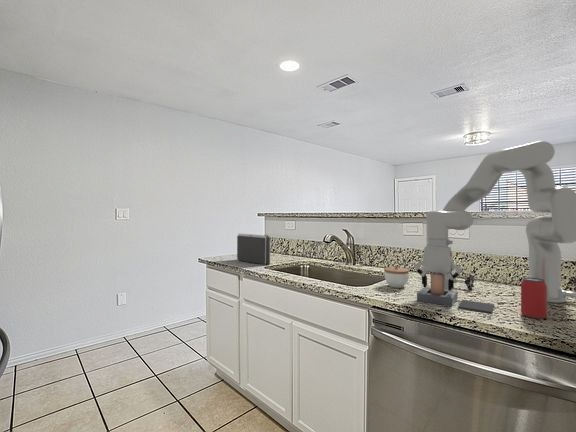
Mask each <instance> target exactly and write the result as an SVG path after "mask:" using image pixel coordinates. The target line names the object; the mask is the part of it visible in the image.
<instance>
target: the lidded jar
mask: <svg viewBox="0 0 576 432" xmlns="http://www.w3.org/2000/svg"><path fill="white" fill-rule="evenodd" d="M383 271H384V275H383V276H384V279H385V282H386V283H387V285H389V287H391V288H399V289H401V288H404V286H406V284H407V283H408V281H409V273H410V269H408V268H406V267H399V266H398V265H395V266H391V267H389V266H388V267H384V269H383Z"/></svg>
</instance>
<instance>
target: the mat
mask: <svg viewBox="0 0 576 432" xmlns="http://www.w3.org/2000/svg"><path fill="white" fill-rule="evenodd" d="M494 307H495V304H494V303H486V302H479V301H473V300H466V299H461V301H460V303H459V304H458V306H457V309H461V310H466V311H467V310H468V311H473V312H479V313H486V314H493V311H494Z"/></svg>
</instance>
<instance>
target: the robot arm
mask: <svg viewBox="0 0 576 432" xmlns="http://www.w3.org/2000/svg"><path fill="white" fill-rule="evenodd" d="M555 153H556V151H555V147H554V146H553V145H552V144H551V143H550V142H548V141H547V140H546V141H545V140H538V141H534V142H531V143H526V144H523V145H518V146H514V147H510V148H504V149H501V150H497V151H493V152H491V153H489V154H487V155H485V157H484V158H483V159H482V160H481V162H480V164H479V165H478V166H477V168H476V170H475V171H474V173H473V174H472V175H471V177H470V178H469V180H468V181H467V182H466V184H465V185H464V186H463V187H462V188H460V189H459V190H458V191H457V192H456V193H455V194H454V195H453V196H452V197H451V198H450V199H449V200H448V202H447V203H446V204H445V205H444V207H443V208H442V210H431V211H428V212H427V213H426V245H424V248H423V255H422V260H421V261H420V262H418V263H415V264H414V265H413V267H414V268H415V270H416V272H417V273H418V274H419V275H420V277H421V284H422V287H423V288H424V287H428V275H427V274H428V273H433V272H434V273H444V274H447V276H448V277H449V280H448V290H449V291H451V290H453V289H454V288H455V287H454V285H455V283H454V279H455V278H456V277H457V278H458V276H459V275H460V274H461V273H462V272H463V268H462V267H460V266H458V265H457V264H455V263H454V261H453V251H452V248H451V247H452V246H449V245H453V244H454V243H453V240H450V239H449V230H457V231H464V230H467V229H470V227H471V226H473V224H474V217H473V215H472V214H471V213H470V212H468V211H467V209H468V208H469V207H470V206H472V205H473V204H474V203H476V202H478V201H480V200H483V199H484V198H486V197H487V196H488V195H490V194H491V192H492V190H493V189H494V187H495V186H496V184H498V182H499V180H500V179H501V178H502V176H503V175H504V174H506V173H511V172H517V171H519V172H520V173H521V174H522V175H523V177H524V179H525V185H526V196H527V204H528V207H529V209H530V211H532V212H534V213H536V214H537V213H538V214H551V215H550V216H548V215H547V216H546V215H545V216H542V215H541V216H537V217H534V218H531V219H530V220H529V221H528V222H527V224H526V225H525V226H526V227H525V234H526V237H527V243H528V277H532V278H540V279H543V280H545V283H546V286H547V303H552V304H553V303H554V304H555V303H556V304H557V303H558V304H560V303H561V304H563V303H565V302H567V297H569V298H575V299H576V292H575V291H574V292H573V291H570V290H569V291H568V290H564V289H563V288H562V251H561V248H560V245H559V244H567V245H569V244H573V243H575V242H576V191H575V190H573V189H572V188H570V187H566V186H556V181H555V176H554V172H553V170H552V168H551V167H550V166H549V164H547V163H549V162H550V161H552V160H553V158H554V156H555ZM420 266H422V269H421V268H420ZM454 269H455V270H456V272H455V273H453V270H454ZM451 271H452V273H451Z"/></svg>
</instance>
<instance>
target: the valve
mask: <svg viewBox="0 0 576 432" xmlns="http://www.w3.org/2000/svg"><path fill="white" fill-rule="evenodd" d="M457 283H459V284H463V283H464V284H465V287H467V288H466V289H468V290H469V291H472V290H473V288H474V283H475V280H474V275H473V274H469V275H468V276H467V278H466V279H463V278H458V276H457V277H456V278H455V279H454V284H457Z"/></svg>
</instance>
